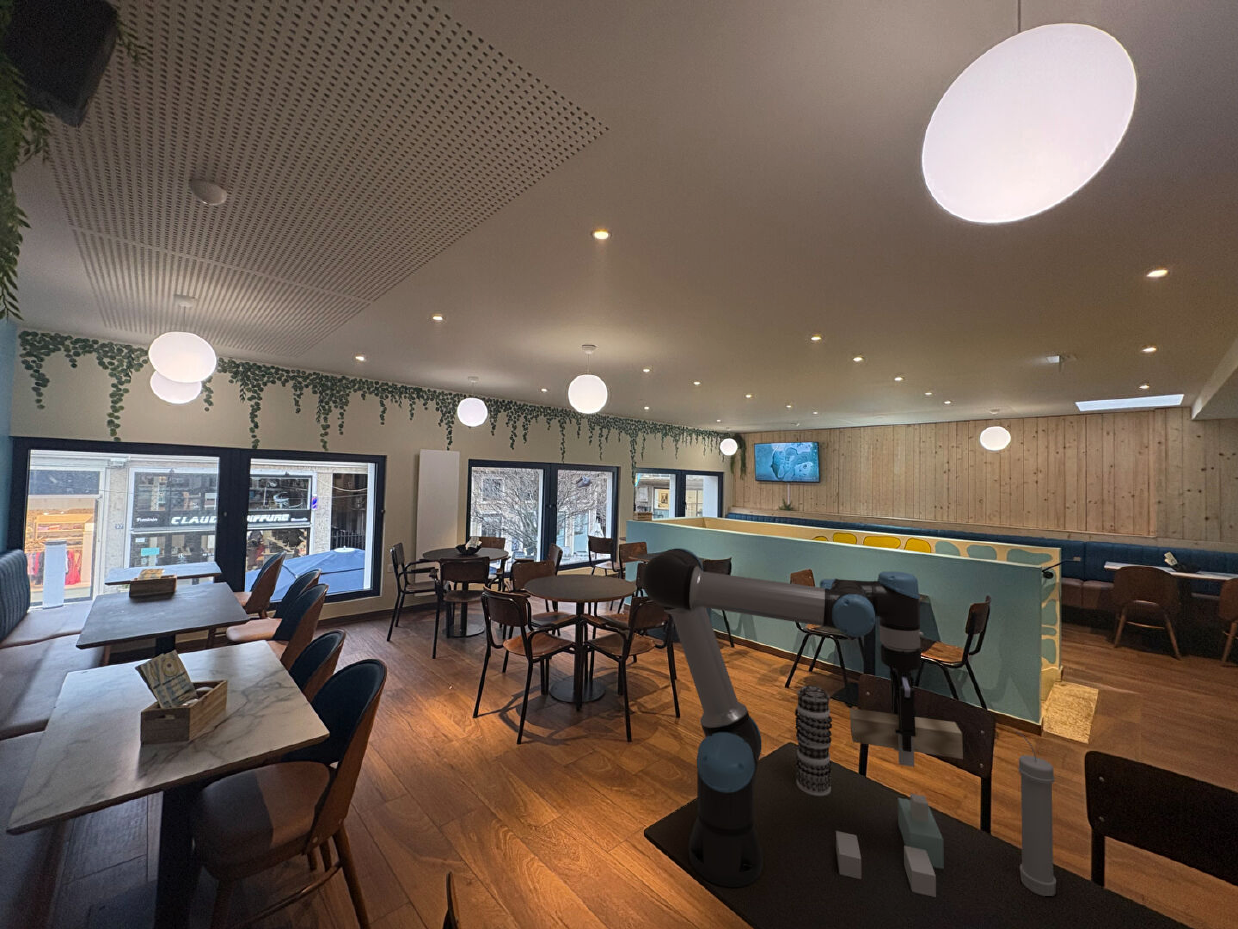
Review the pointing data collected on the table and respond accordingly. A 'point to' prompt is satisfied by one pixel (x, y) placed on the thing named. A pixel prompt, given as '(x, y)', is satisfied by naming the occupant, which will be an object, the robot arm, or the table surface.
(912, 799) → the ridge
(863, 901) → the table surface
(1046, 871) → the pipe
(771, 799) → the table surface
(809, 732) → the studded grey cylinder
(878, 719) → the wooden block
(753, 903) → the table surface
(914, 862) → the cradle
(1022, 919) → the table surface
